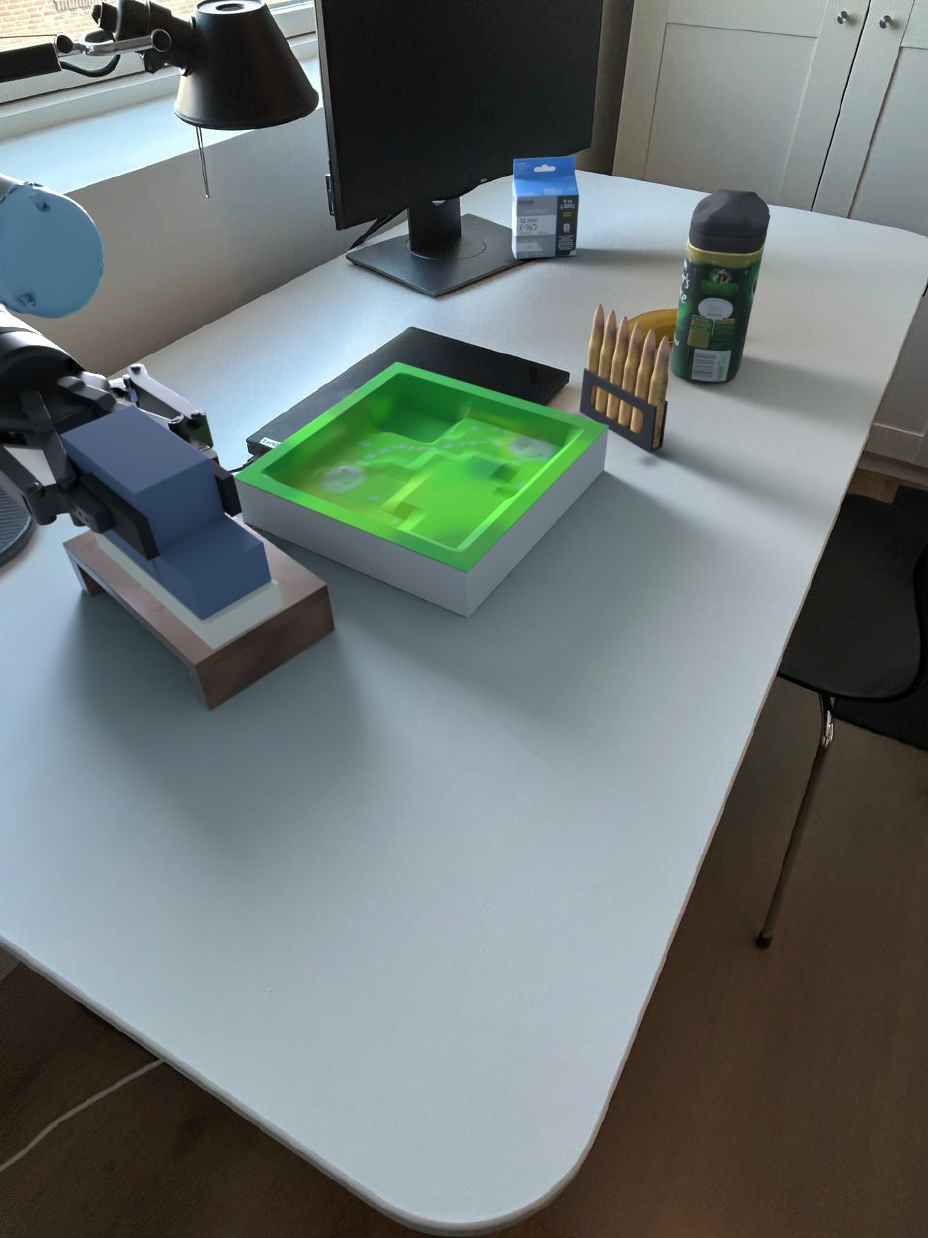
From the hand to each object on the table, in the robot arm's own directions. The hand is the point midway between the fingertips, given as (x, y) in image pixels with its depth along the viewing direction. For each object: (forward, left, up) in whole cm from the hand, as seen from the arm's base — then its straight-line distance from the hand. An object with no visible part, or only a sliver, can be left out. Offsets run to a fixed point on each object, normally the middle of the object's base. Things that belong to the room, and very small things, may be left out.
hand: (190, 517), depth 51 cm
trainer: (0, +3, -6) cm, 7 cm away
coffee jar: (+68, +7, -19) cm, 71 cm away
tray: (+29, +12, -19) cm, 36 cm away
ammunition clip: (+51, +6, -19) cm, 55 cm away
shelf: (+5, +14, -19) cm, 24 cm away
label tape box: (+81, +43, -19) cm, 93 cm away
